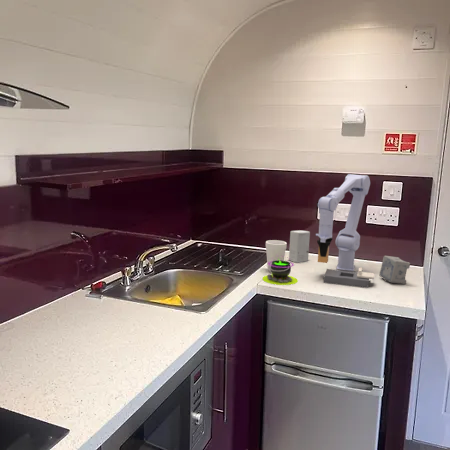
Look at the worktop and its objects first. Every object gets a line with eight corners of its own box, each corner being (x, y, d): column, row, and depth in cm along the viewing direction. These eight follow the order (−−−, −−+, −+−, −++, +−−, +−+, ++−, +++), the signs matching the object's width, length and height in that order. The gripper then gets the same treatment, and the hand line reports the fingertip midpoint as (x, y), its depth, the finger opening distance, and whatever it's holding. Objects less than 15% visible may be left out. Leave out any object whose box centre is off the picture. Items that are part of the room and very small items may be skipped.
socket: (326, 275, 207) (327, 268, 207) (368, 280, 202) (369, 273, 201) (323, 282, 197) (323, 275, 196) (368, 287, 191) (368, 280, 191)
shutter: (357, 273, 200) (358, 266, 200) (374, 274, 198) (374, 268, 198) (357, 277, 194) (357, 270, 194) (373, 279, 192) (374, 272, 192)
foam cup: (271, 266, 219) (272, 239, 217) (288, 270, 214) (290, 242, 212) (260, 270, 212) (261, 242, 209) (278, 274, 206) (280, 245, 204)
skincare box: (296, 263, 226) (298, 233, 224) (288, 260, 231) (289, 230, 229) (308, 260, 231) (310, 231, 229) (300, 258, 236) (302, 229, 233)
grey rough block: (408, 284, 198) (411, 260, 196) (390, 285, 196) (393, 261, 194) (395, 277, 207) (397, 254, 206) (378, 278, 206) (380, 255, 204)
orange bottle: (319, 259, 207) (320, 242, 206) (328, 260, 206) (329, 243, 205) (317, 262, 204) (318, 244, 202) (327, 263, 202) (328, 245, 201)
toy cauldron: (255, 278, 200) (256, 253, 198) (279, 273, 209) (280, 249, 207) (280, 287, 189) (282, 261, 187) (305, 281, 198) (306, 256, 196)
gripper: (319, 221, 210) (317, 250, 212) (314, 226, 196) (312, 258, 199) (335, 222, 208) (332, 252, 210) (331, 228, 194) (328, 260, 197)
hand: (323, 255), depth 204 cm, fingers closed on orange bottle, 4 cm apart
